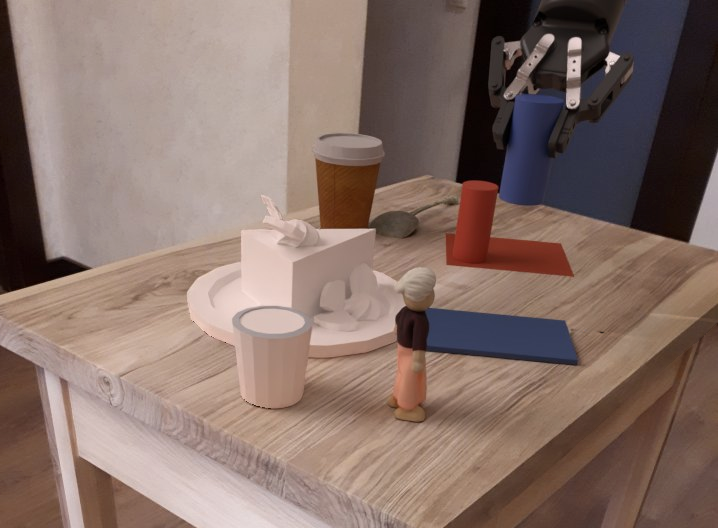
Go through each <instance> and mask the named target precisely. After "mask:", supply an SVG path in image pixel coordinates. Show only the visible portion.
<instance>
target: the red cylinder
mask: <svg viewBox="0 0 718 528" xmlns="http://www.w3.org/2000/svg"><path fill="white" fill-rule="evenodd" d="M498 193H499V185H497V184H496V183H493V182H490V181H485V180H467V181H463V182H462V184H461V192H460V198H459V199H460V200H459V206H458V213H457V220H456V227H455V233H454V234H455V241H454V248H453V255H452V256H453V258H454V259H456V260H458V261H461V262H465V263H482V262H484V261H486V259H487V253H488V247H489V241H490V237H491V235H492V228H493V222H494V217H495V212H496V211H495V210H496V205H497V198H498V195H499V194H498Z"/></svg>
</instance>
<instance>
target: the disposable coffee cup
mask: <svg viewBox="0 0 718 528" xmlns="http://www.w3.org/2000/svg"><path fill="white" fill-rule="evenodd" d="M383 146H384V145H383V141H382V139H380V138H377V137H375V136H372V135H367V134H361V133H354V132H353V133H352V132H328V133H323V134H319V135H316V137H315V141H314V144H313V145H312V147H311V152H312V153H313V157H314V160H315V172H316V173H315V175H316V186H317V197H318V198H317V199H318V210H319V211H318V214H319V223H320V224H319V225H320V229H369V223H370V218H371V213H372V208H373V204H374V203H373V202H374V198H375V192H376V188H377V183H378V177H379V173H380V168H381V163H382V161H383V159H384V157H385V156H386V152H385V150H384V147H383Z"/></svg>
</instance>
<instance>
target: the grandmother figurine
mask: <svg viewBox="0 0 718 528" xmlns="http://www.w3.org/2000/svg"><path fill="white" fill-rule="evenodd" d="M397 282H398V283H397V284H396V286H395V288H394V289H395V291H396V293H398V294H399V293H401V294H403V299H404V303H405V305H406V306H405V307H403V308H402V309H401V310H400V311H399V312H398V313H397V314H396V317H395V327H394V334H395V335H396V336H397V341H396V342H397V353H396V355H397V357H396V366H397V367H396V368H397V369H396V374H395V378H394V384H393V386H392V387H393V388H392V395H390V396H389V397H388V398H387V400H386V403H387V405H388V406H389V407H391V408H395V410H394V412H393V416H394V418H395V419H397V420H402V421H408V422H415V423H418V422H423V421H425V419H426V412H425V410H424V408H422V407H421V406H419V404H422V403H424V402H425V401H426V400H427V391H428V389H427V387H428V385H427V361H426V360H427V359H426V353H427V351H426V349H427V337H428V334H429V326H430V325H429V321H428V318H427V315H426V312H425V310H427V309H428V308H431V307H432V305H433V303H434V302H435V298H436V297H435V296H436V294H435V289H434V288H435V287H436V282H437V276H436V273H435V271H434V270H433V269H431V268H429V267H423V266H418V267H417V266H416V267H414V268H411V269H410V270H408V271H407V272H406V273H405V274H404V275H402V277H401V278H400V279H399V281H397Z"/></svg>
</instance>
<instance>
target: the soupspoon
mask: <svg viewBox="0 0 718 528" xmlns="http://www.w3.org/2000/svg"><path fill="white" fill-rule="evenodd" d="M459 203H460V200H459V197H458V196H457V195H450V196H449V197H447V198H446V197H445V198H443V199H441V200H437V201H434V202H431V203H428V204H426V205H423V206H421V207H418V208H416V209H414V210H412V211H410V212H408V211H404V210H389V211H387V212H383V213H381V214H379V215H377V216H375V217H374V218H373V219H372V221H371V222H370V224H369V229H376V232H375V235H379V236H382V237H387V238H393V239H405V238H407V237H408V236H410V235H411V234H413V232H415V230H416V229H417V228H418V227H419V224H420V219H419V218H418V216H416V215H419V214H420V213H422V212H424V211H426V210H428V209H431V208H434V207H436V206H439V205H445V206H446V205H458V204H459Z"/></svg>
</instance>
